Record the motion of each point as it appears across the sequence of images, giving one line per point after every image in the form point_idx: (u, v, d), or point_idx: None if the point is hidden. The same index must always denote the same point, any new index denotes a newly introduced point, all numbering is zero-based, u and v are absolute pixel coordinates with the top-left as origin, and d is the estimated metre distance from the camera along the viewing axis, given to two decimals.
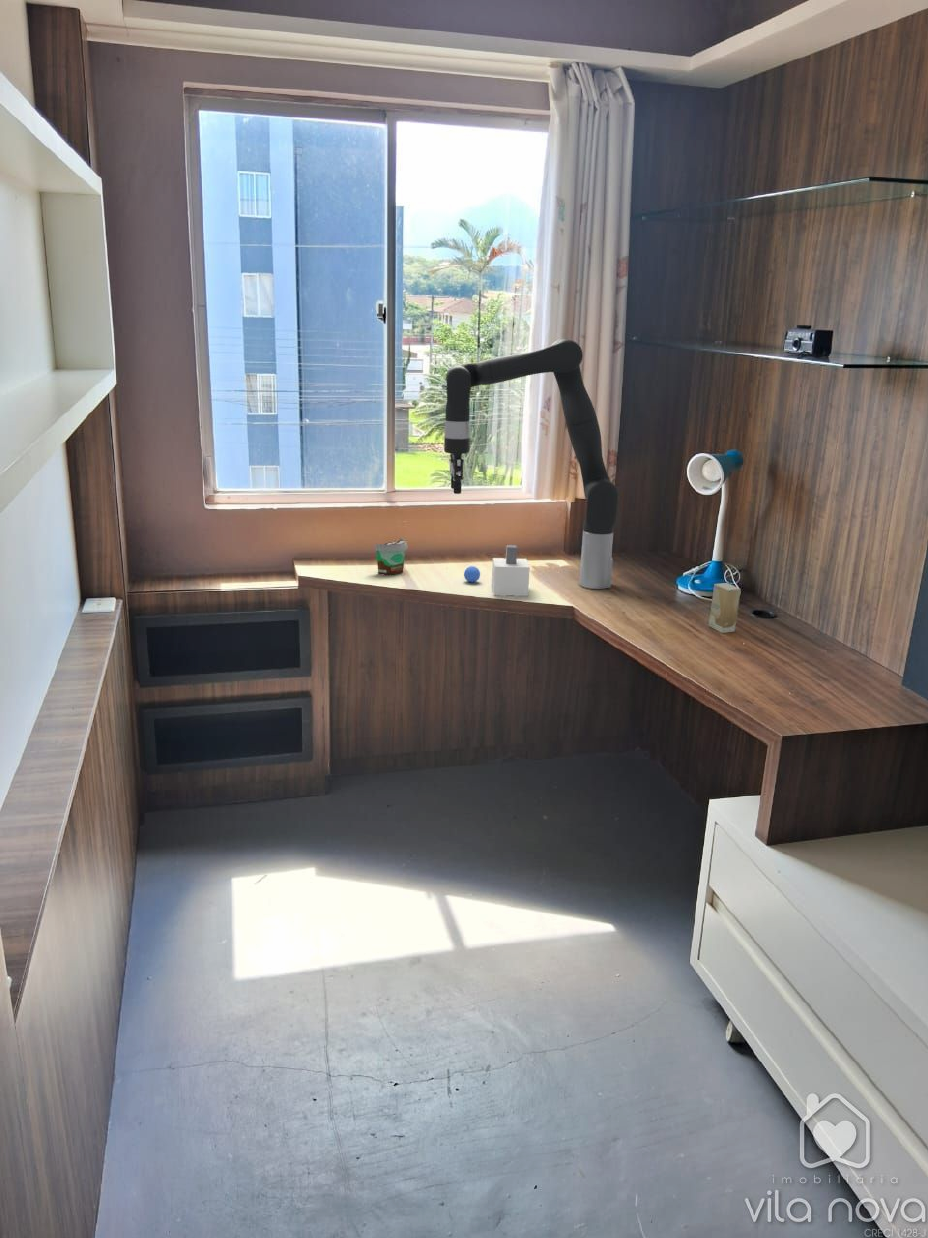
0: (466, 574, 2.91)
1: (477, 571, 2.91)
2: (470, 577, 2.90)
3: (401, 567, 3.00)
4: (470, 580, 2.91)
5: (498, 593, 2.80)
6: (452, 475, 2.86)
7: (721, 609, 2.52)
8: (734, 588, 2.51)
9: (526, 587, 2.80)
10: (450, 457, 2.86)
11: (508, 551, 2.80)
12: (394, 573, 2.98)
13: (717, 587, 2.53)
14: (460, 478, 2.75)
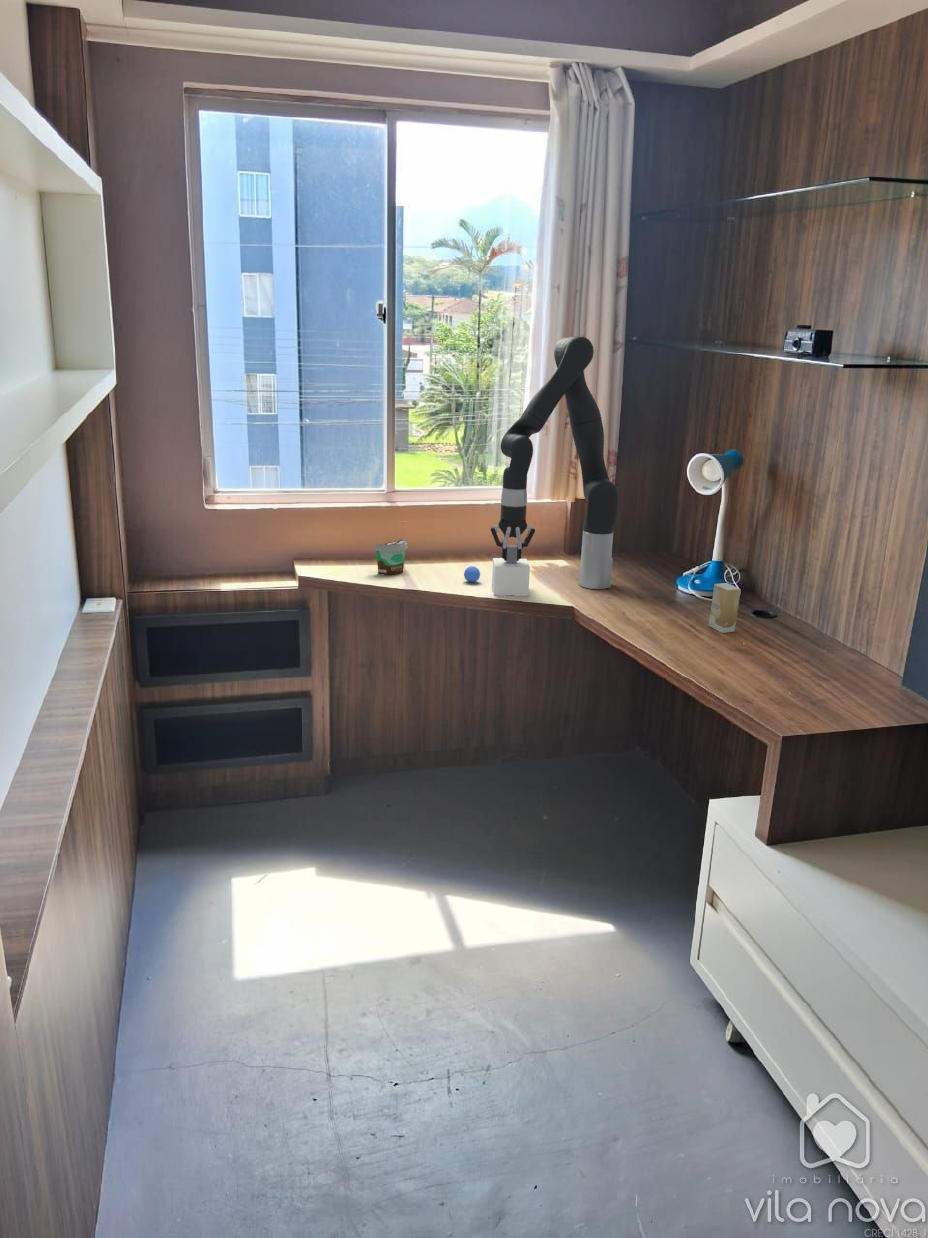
0: (466, 574, 2.91)
1: (477, 571, 2.91)
2: (470, 577, 2.90)
3: (401, 567, 3.00)
4: (470, 580, 2.91)
5: (498, 593, 2.80)
6: (506, 547, 2.80)
7: (721, 609, 2.52)
8: (734, 588, 2.51)
9: (526, 587, 2.80)
10: (492, 532, 2.78)
11: (508, 551, 2.80)
12: (394, 573, 2.98)
13: (717, 587, 2.53)
14: None
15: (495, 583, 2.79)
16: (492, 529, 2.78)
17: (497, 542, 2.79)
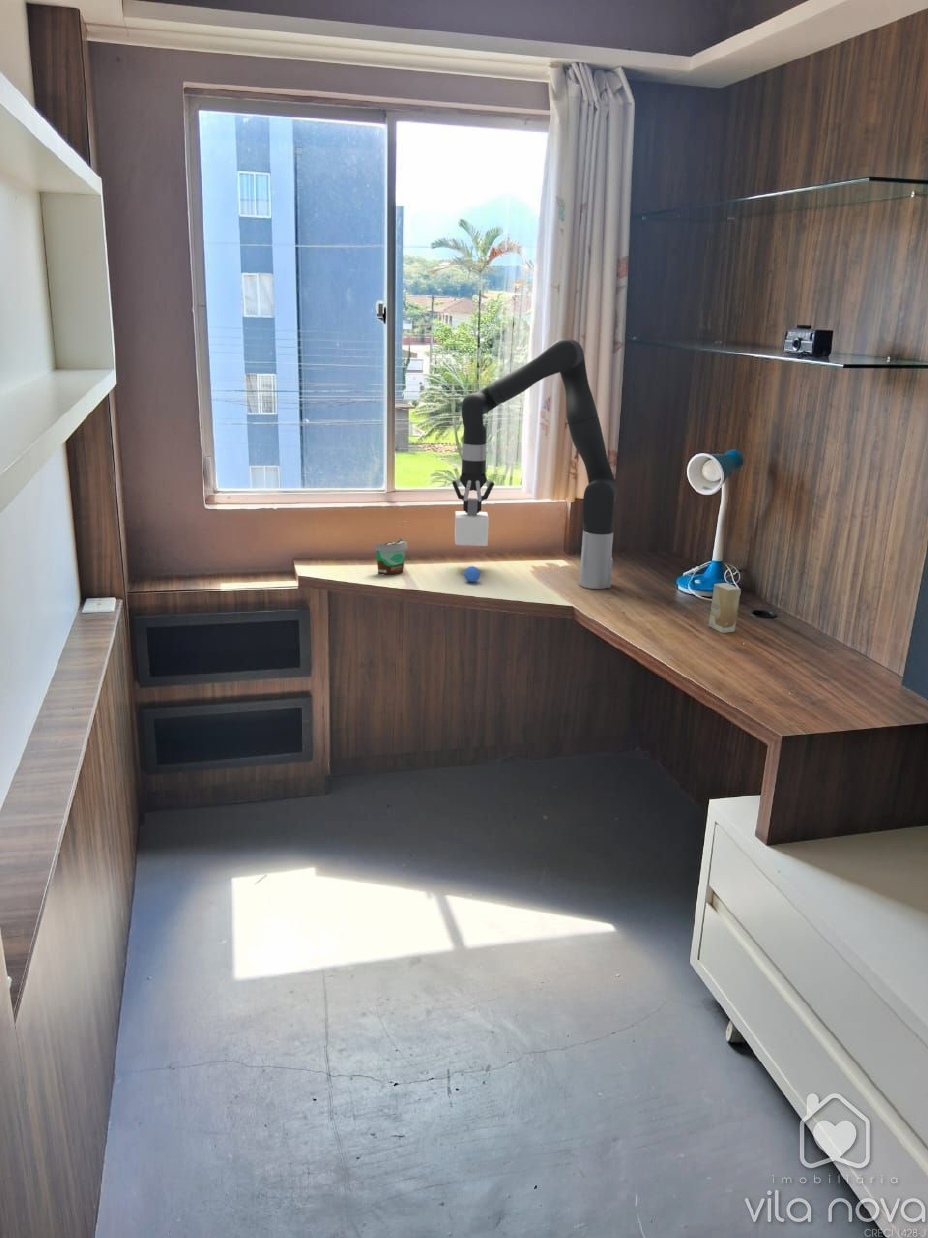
0: (466, 574, 2.91)
1: (477, 571, 2.91)
2: (470, 577, 2.90)
3: (401, 567, 3.00)
4: (470, 580, 2.91)
5: (459, 543, 2.99)
6: (467, 500, 3.00)
7: (721, 609, 2.52)
8: (734, 588, 2.51)
9: (486, 537, 2.99)
10: (454, 486, 2.98)
11: (469, 503, 2.99)
12: (394, 573, 2.98)
13: (717, 587, 2.53)
14: None
15: (456, 533, 2.98)
16: (454, 482, 2.97)
17: (458, 495, 2.98)
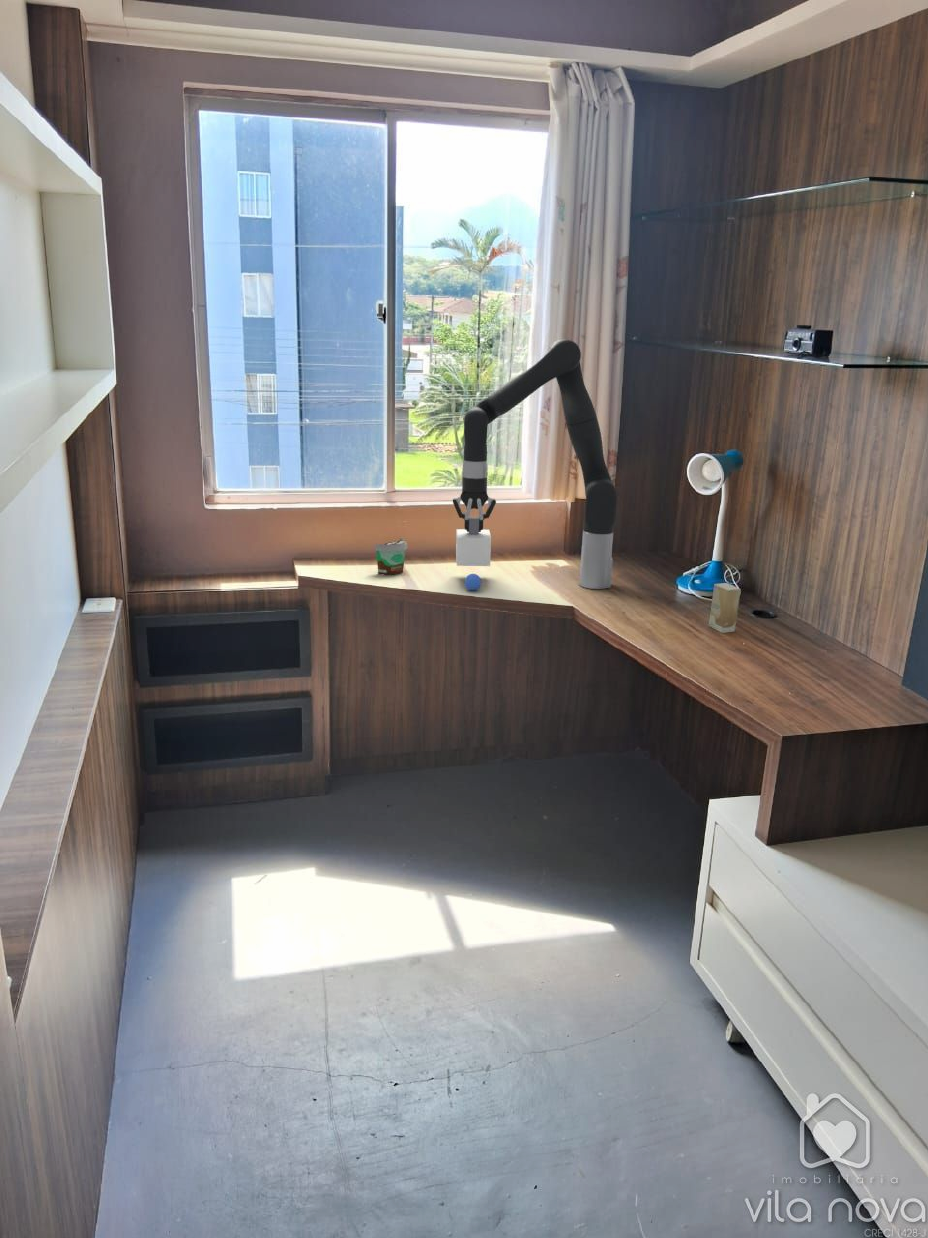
0: None
1: None
2: None
3: (401, 567, 3.00)
4: None
5: (461, 563, 2.89)
6: None
7: (721, 609, 2.52)
8: (734, 588, 2.51)
9: (488, 557, 2.89)
10: (454, 504, 2.87)
11: (470, 522, 2.88)
12: (394, 573, 2.98)
13: (717, 587, 2.53)
14: None
15: (458, 554, 2.88)
16: (454, 501, 2.86)
17: (459, 514, 2.88)
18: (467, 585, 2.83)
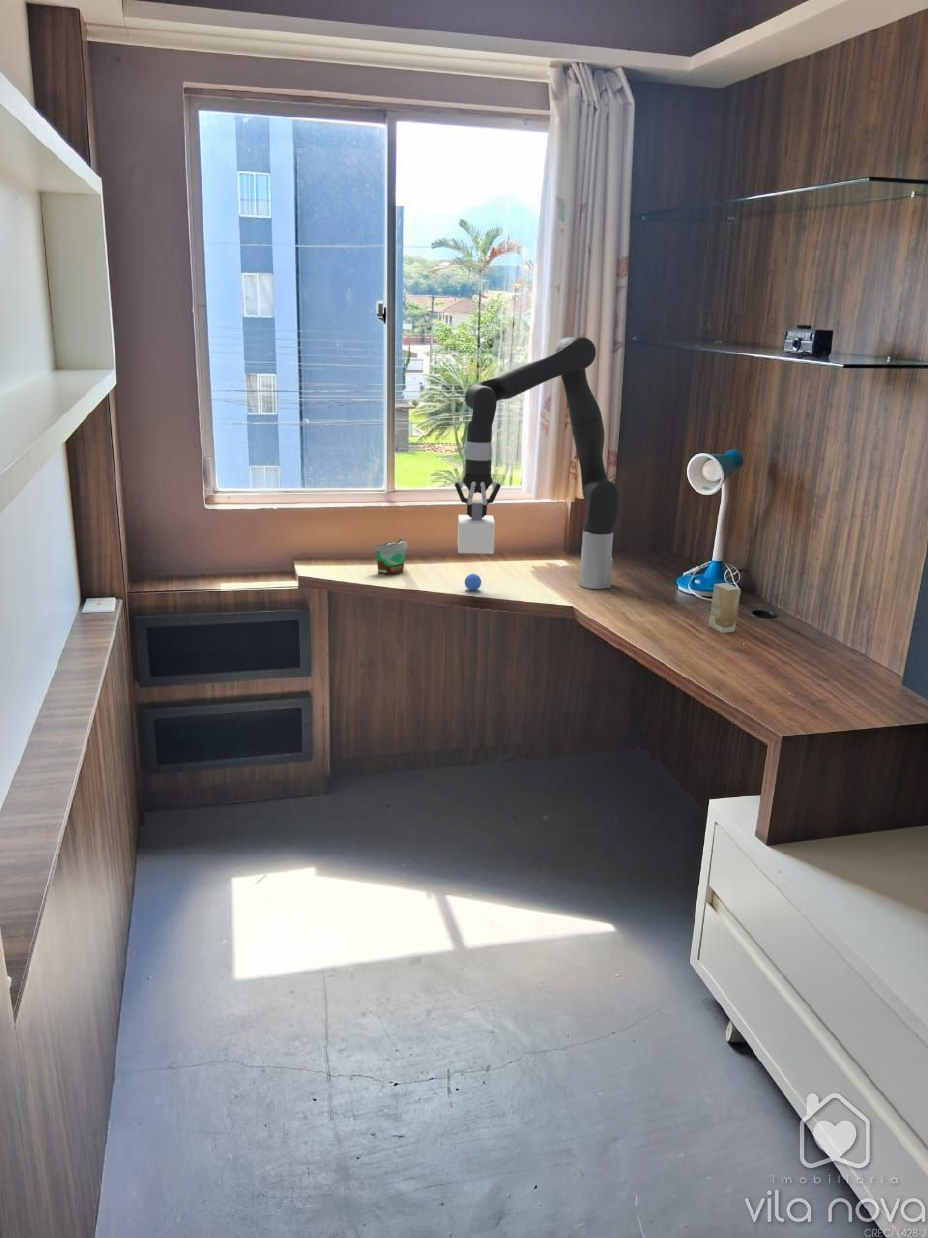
0: None
1: None
2: None
3: (401, 567, 3.00)
4: None
5: (463, 550, 2.73)
6: (470, 503, 2.73)
7: (721, 609, 2.52)
8: (734, 588, 2.51)
9: (492, 544, 2.73)
10: (456, 488, 2.71)
11: (473, 507, 2.73)
12: (394, 573, 2.98)
13: (717, 587, 2.53)
14: None
15: (459, 540, 2.72)
16: (456, 484, 2.71)
17: (462, 498, 2.72)
18: (467, 585, 2.83)
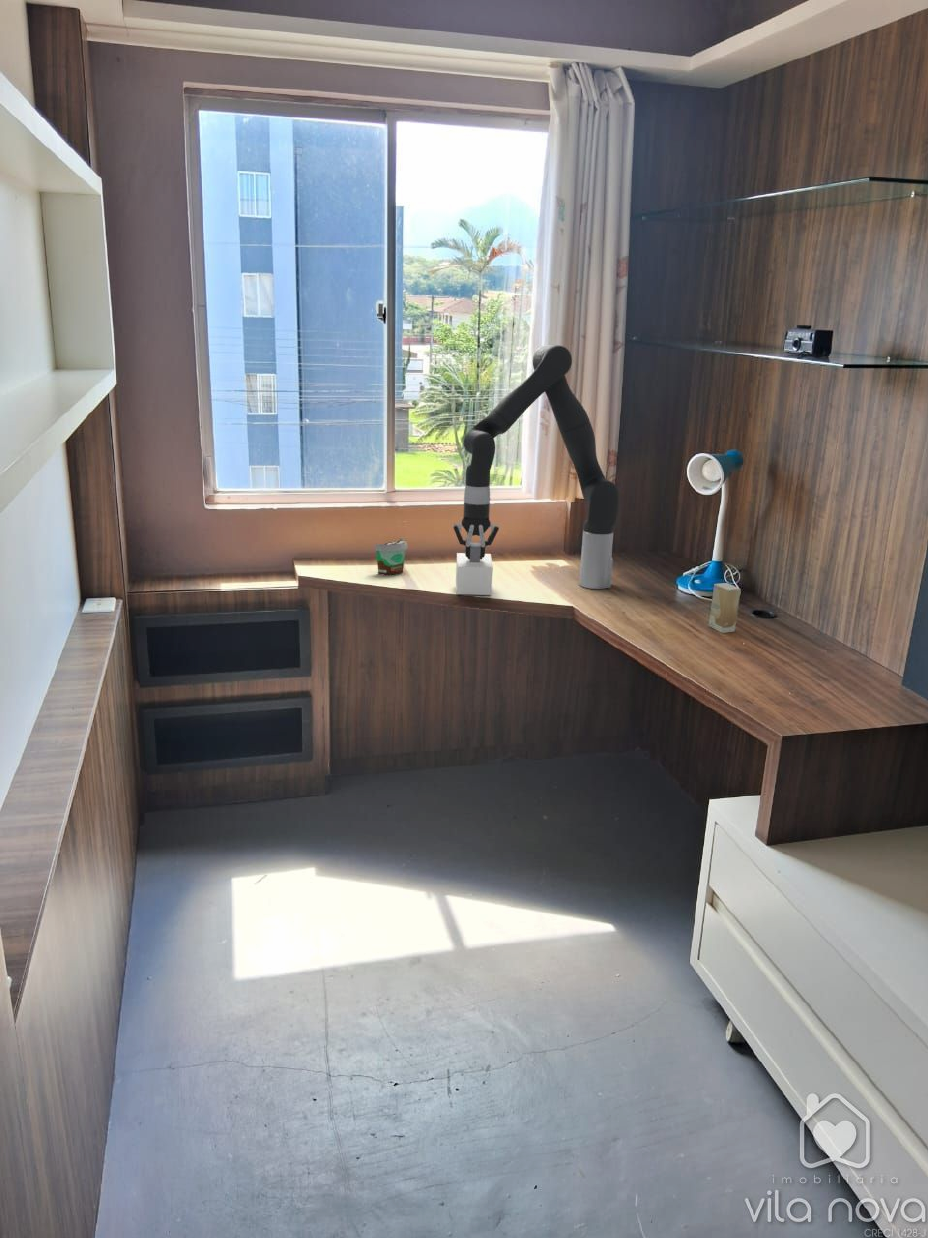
0: None
1: None
2: None
3: (401, 567, 3.00)
4: None
5: (461, 592, 2.79)
6: None
7: (721, 609, 2.52)
8: (734, 588, 2.51)
9: (489, 586, 2.78)
10: (455, 530, 2.75)
11: (471, 550, 2.77)
12: (394, 573, 2.98)
13: (717, 587, 2.53)
14: None
15: (458, 582, 2.77)
16: (455, 527, 2.75)
17: (460, 540, 2.76)
18: None
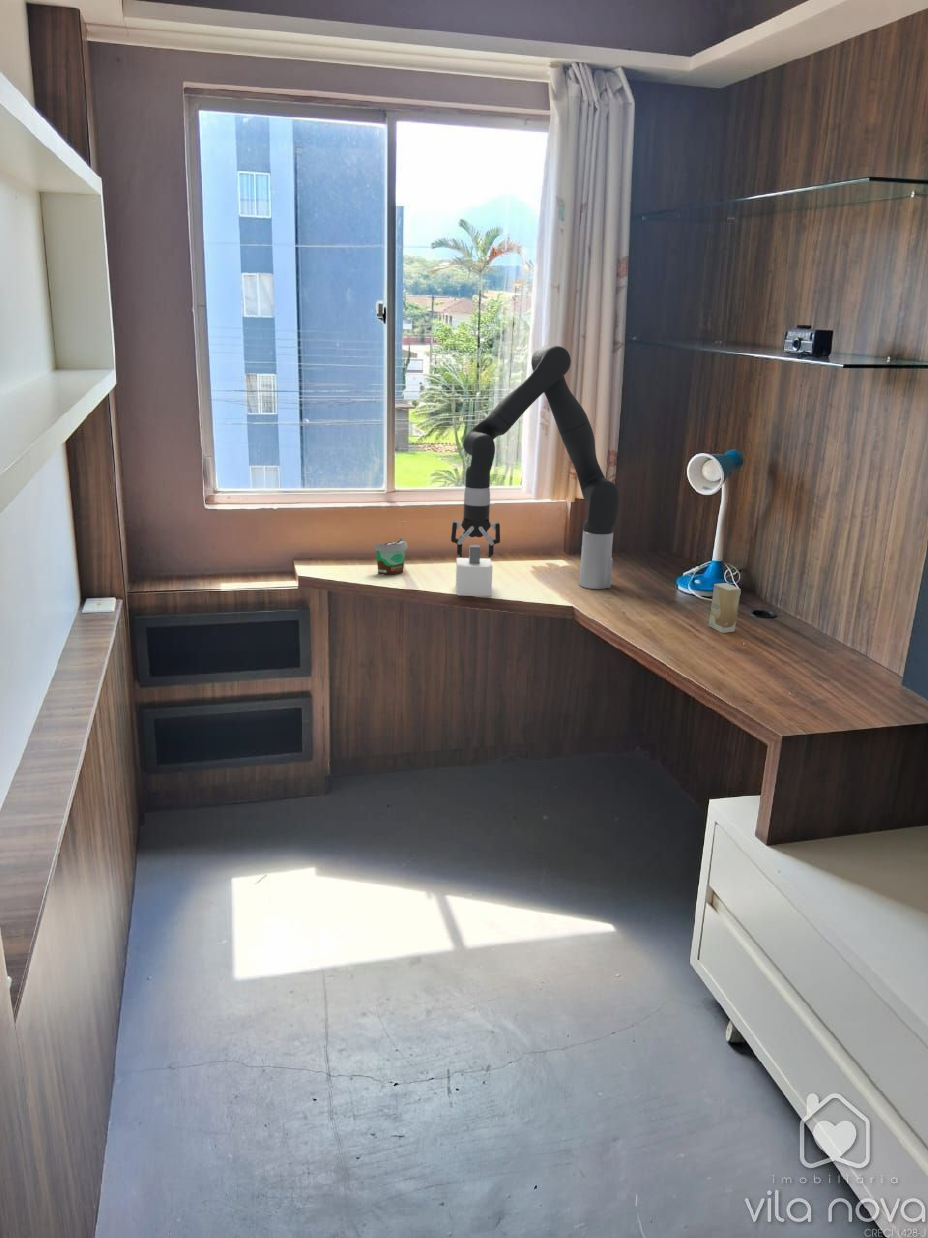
0: None
1: None
2: None
3: (401, 567, 3.00)
4: None
5: (461, 593, 2.79)
6: (460, 543, 2.77)
7: (721, 609, 2.52)
8: (734, 588, 2.51)
9: (489, 587, 2.79)
10: (453, 527, 2.74)
11: (471, 551, 2.79)
12: (394, 573, 2.98)
13: (717, 587, 2.53)
14: None
15: (458, 583, 2.78)
16: (454, 523, 2.74)
17: (453, 538, 2.75)
18: None
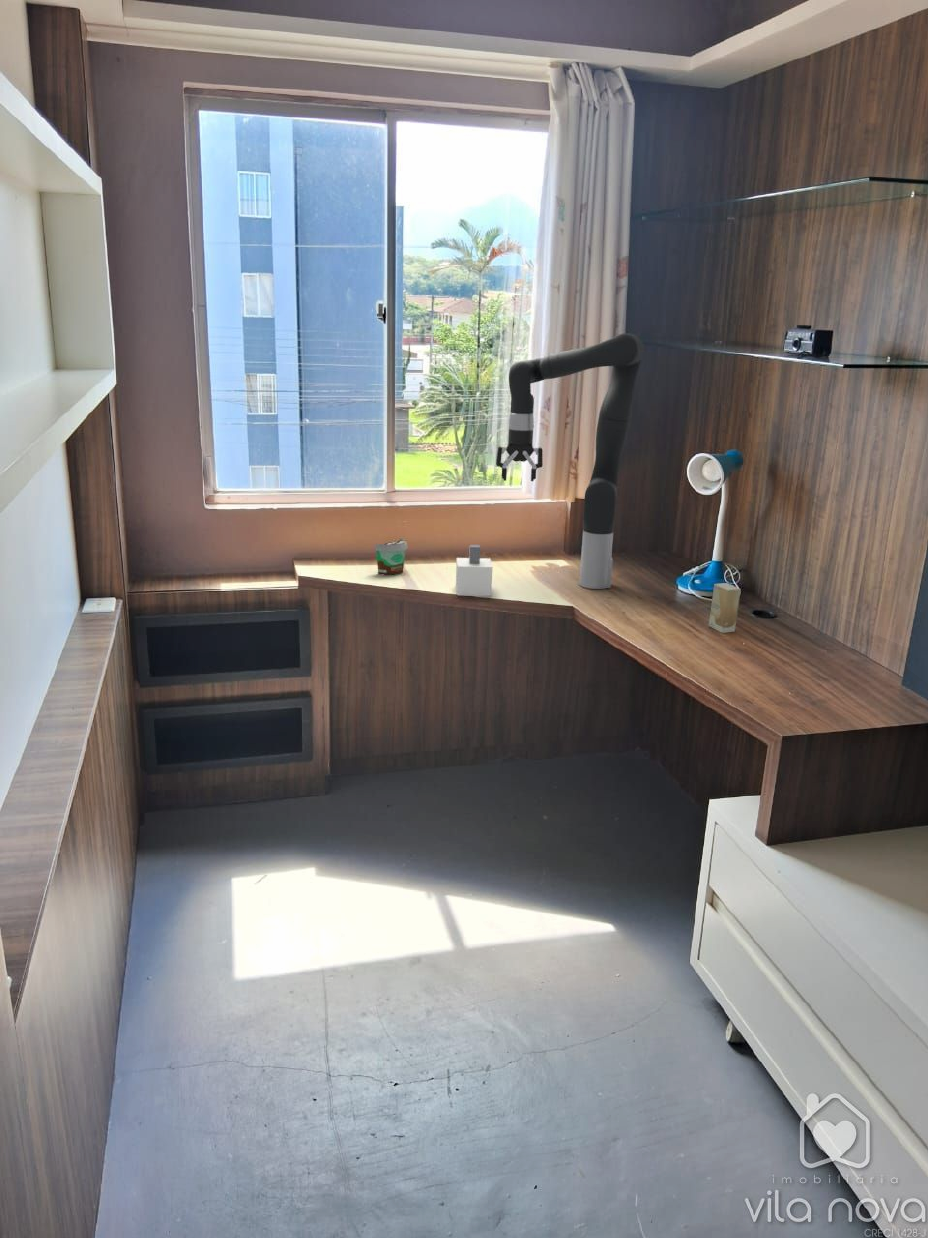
0: None
1: None
2: None
3: (401, 567, 3.00)
4: None
5: (461, 593, 2.79)
6: (505, 468, 2.93)
7: (721, 609, 2.52)
8: (734, 588, 2.51)
9: (489, 587, 2.79)
10: (498, 451, 2.91)
11: (471, 551, 2.79)
12: (394, 573, 2.98)
13: (717, 587, 2.53)
14: None
15: (458, 583, 2.78)
16: (500, 448, 2.91)
17: (498, 462, 2.92)
18: None
